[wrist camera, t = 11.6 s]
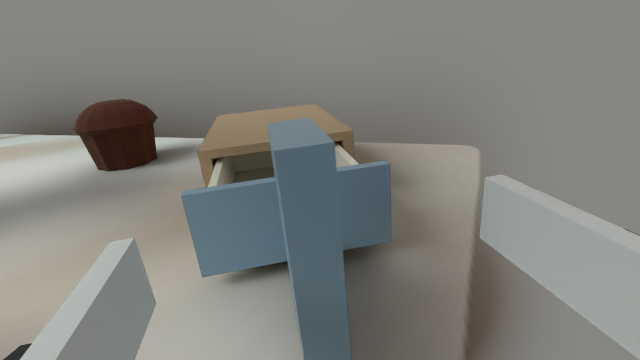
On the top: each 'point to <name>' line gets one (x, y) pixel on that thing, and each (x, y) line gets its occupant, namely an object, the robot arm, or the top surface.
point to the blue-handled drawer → (294, 223)
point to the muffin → (118, 134)
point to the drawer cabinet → (262, 133)
